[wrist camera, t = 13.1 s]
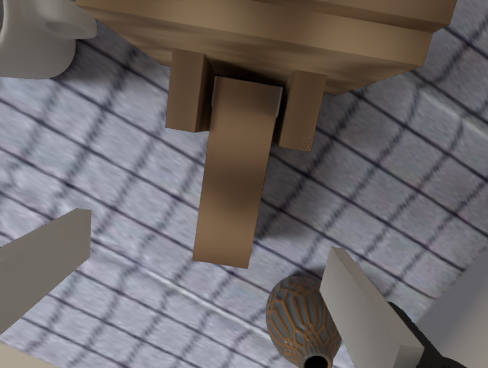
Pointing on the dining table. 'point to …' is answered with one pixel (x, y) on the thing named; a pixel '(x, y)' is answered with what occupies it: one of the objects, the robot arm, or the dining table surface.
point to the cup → (40, 36)
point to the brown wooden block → (234, 170)
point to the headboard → (274, 49)
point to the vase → (302, 323)
